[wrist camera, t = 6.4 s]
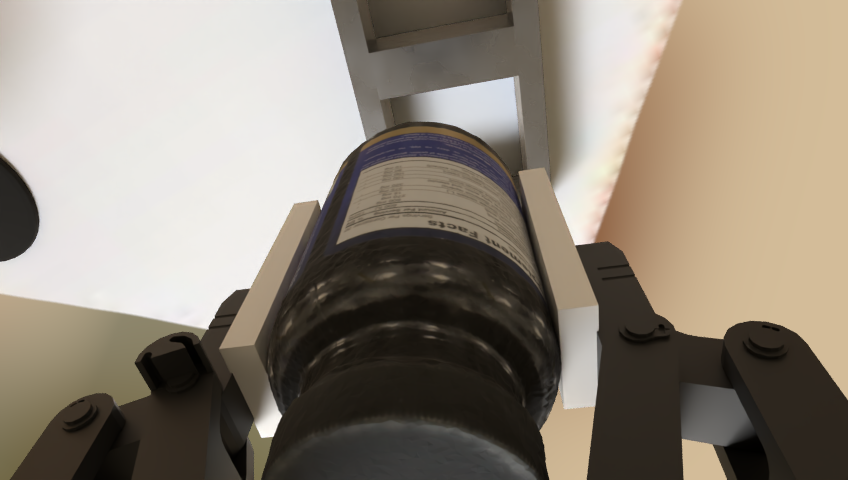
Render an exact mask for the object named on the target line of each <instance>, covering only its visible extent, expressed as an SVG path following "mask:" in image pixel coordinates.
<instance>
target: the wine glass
mask: <svg viewBox="0 0 848 480" xmlns="http://www.w3.org/2000/svg"><path fill="white" fill-rule="evenodd" d="M38 227H39V219H38V212H37V208H36V205H35V202H34V200H33V198H32V195H31V193H30V192H29V190H28V188H27V187H26V185H25V184H24V182H23V181H22V180H21V179H20V177H19V176H18V175H17V174H16V172H15V171H14V170H13V169H12V168H11V167H10V166H9V165H8V164H7V163H6V162H4V161H3V160H2V159H1V158H0V262H1V261H7V260H10V259H13V258H16V257H17V256H19V255H21V254H22V253H24V252H25V251H26V250H27V249H28V248H29V247H30V246H31V245H32V244H33V242H34V240H35V239H36V236H37V233H38Z"/></svg>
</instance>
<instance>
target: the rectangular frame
mask: <svg viewBox="0 0 848 480" xmlns="http://www.w3.org/2000/svg"><path fill="white" fill-rule="evenodd" d="M331 3H332V7H333V11H334V15H335V19H336V23H337V27H338V31H339V35H340V39H341V42H342V46H343V50H344V54H345V58H346V62H347V66H348V70H349V74H350V78H351V81H352V85H353V89H354V93H355V97H356V101H357V105H358V109H359V113H360V117H361V120H362V124H363V128H364V132H365V136H366V140H369V139H370V138H372V137H373V136H374V135H376V134H377V133H379V132H381V131H383V130H385V129H388V128H391V127H394V126H395V122H394V117H393V113H392V108H391V104H390V99H389V98H394V97H400V96H406V95H412V94H417V93H423V92H429V91H434V90H440V89H446V88H451V87H457V86H463V85H468V84H474V83H480V82H486V81H491V80H497V79H503V78H508V77H514V86H515V96H516V106H517V116H518V126H519V136H520V146H521V156H522V166H523V170H530V169H537V168H545V170H546V173H547V175H548V178H549V181H550V183H551V178H550V164H549V150H548V136H547V122H546V108H545V94H544V80H543V66H542V52H541V38H540V24H539V10H538V0H506V5H507V14H502V15H496V16H491V17H486V18H481V19H475V20H470V21H465V22H460V23H454V24H449V25H444V26H439V27H433V28H428V29H423V30H418V31H412V32H407V33H402V34H397V35H391V36H386V37H381V38H376V37H375V32H374V28H373V23H372V19H371V14H370V10H369V5H368V1H367V0H331ZM512 178H513V181H514V183H515V186H516V189H517V192H518V196H519V201H520V204H521V195H520V184H519V176H514V177H512ZM521 208H522V205H521Z"/></svg>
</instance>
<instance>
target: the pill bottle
mask: <svg viewBox="0 0 848 480" xmlns="http://www.w3.org/2000/svg"><path fill="white" fill-rule="evenodd" d="M267 354H268V363H267V368H268V380H269V383H270V387H271V391H272V393H273V397H274V399H275V402H276V404H277V407H278V410H279V412H280V413H281V415H282V417H281V419H280V422H279V423H278V426H277V429H276V431H275V434H274V437H273V439H272V443H271V447H270V452H269V456H268V459H267V462H266V465H265V468H264V471H263V475H262V478H261V480H549V477H548V472H547V468H546V463H545V460H546V458H545V452H544V444H543V440H542V436H541V434H540V432H539V431H540V429H541V428H542V426H543V424H544V423H545V421H546V420H547V418H548V416H549V414H550V412H551V410H552V406H553V404H554V402H555V398H556V396H557V392H558V385H559V382H560V375H561V364H562V363H561V360H560V355H561V353H560V349H559V346H558V340H557V337H556V333H555V329H554V326H553V322H552V319H551V315H550V311H549V307H548V304H547V301H546V297H545V293H544V289H543V285H542V280H541V277H540V274H539V271H538V267H537V263H536V259H535V255H534V252H533V248H532V244H531V241H530V237H529V234H528V230H527V226H526V222H525V219H524V215H523V212H522V208H521V204H520V201H519V196H518V192H517V189H516V186H515V183H514V181H513V178H512V176H511V173H510V172H509V170H508V168H507V166H506V165H505V163H504V162H503V161H502V160H501V159H500V157H499V156H498V155H497V154H496V152H495V151H494V150H493V149H492V148H490V147H489V146H488V145H487V144H486V143H485V142H484V141H482V140H481V139H480V138H478V137H477V136H474V135H472V134H470V133H469V132H467V131H465V130H462V129H460V128H458V127H456V126H452V125H447V124H442V123H436V122H407V123H403V124H400V125H397V126H394V127H391V128H388V129H385V130H383V131H381V132H379V133H377V134H376V135H374V136H373V137H372V138H370V139H369V140H367V141H365V142H364V143H362V144H361V145H360V146H359V147H358V148H357V149H355V150H354V151H353V152H352V153H351V154H350V155H349V156H348V157H347V158H346V160H345V161H344V162H343V164H342V166H341V167H340V170H339V172H338V174H337V175H336V177H335V179H334V182H333V185H332V187H331V189H330V192H329V194H328V196H327V198H326V201H325V203H324V205H323V208H322V210H321V213H320V215H319V217H318V220H317V222H316V224H315V227H314V229H313V232H312V234H311V236H310V239H309V241H308V244H307V246H306V249H305V251H304V253H303V256H302V258H301V261H300V263H299V266H298V268H297V270H296V273H295V275H294V277H293V280H292V282H291V284H290V286H289V289H288V291H287V294H286V296H285V298H284V300H283V301H282V305H281V307H280V309H279V312H278V313H277V318H276V320H275V323H274V325H273V328H272V331H271V336H270V340H269V345H268V352H267Z"/></svg>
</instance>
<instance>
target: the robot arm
mask: <svg viewBox="0 0 848 480" xmlns="http://www.w3.org/2000/svg"><path fill="white" fill-rule="evenodd" d="M518 173H519V184H520V195H521V205H522V212H523V215H524V219H525V222H526V226H527V230H528V234H529V237H530V241H531V244H532V248H533V252H534V255H535V259H536V263H537V267H538V271H539V274H540V277H541V280H542V285H543V289H544V293H545V297H546V301H547V304H548V307H549V311H550V315H551V319H552V322H553V326H554V329H555V333H556V337H557V340H558V346H559V349H560V353H561V355H560V360H561V363H562V364H561V375H560V382H559V385H558V386H559V390H560V394H561V397H562V402H563V406H564V409H572V408H582V407H592V406H595V412H594V421H593V430H592V439H591V447H590V456H589V466H588V474H587V480H683V459H682V439H687V440H692V441H698V442H704V443H709V444H713V446H714V448H715V451H716V453H717V456H718V458H719V461H720V463H721V466H722V468H723V470H724V472H725V475H726V477H727V480H848V400H847V398H846V397H845V396H844V394H843V393H842V392H841V390H840V389H839V387H838V386H837V385H836V383H835V382H834V381H833V379H832V378H831V376H830V375H829V373H828V372H827V371H826V369H825V368H824V367H823V365H822V364H821V363H820V361H819V360H818V358H817V357H816V356H815V354H814V353H813V352H812V350H811V349H810V347H809V346H808V344H807V343H806V342H805V341H804V340H803V339H802V338H801V337H800V336H799V335H798V334H797V333H795V332H793V331H791V330H789V329H787V328H785V327H783V326H780V325H777V324H773V323H769V322H761V321H748V322H743V323H738V324H736V325H734V326H732V327H731V328H729V329H728V330H727V332H726V334H725V336H724V339H714V338H706V337H697V336H692V335H687V334H684V333H681V332H678V331H676V330H675V328H674V326H673V325H672V324H671V323H670V322H669V321H668V320H667V319H665V318H664V317H662V316H660V315H657V314H655V312H654V310H653V308H652V307H651V305H650V303H649V301H648V299H647V297H646V295H645V293H644V291H643V290H642V288H641V286H640V284H639V282H638V280H637V278H636V277H635V274H634V272H633V270H632V269H631V267H630V266H629V263H628V261H627V259H626V257H625V255H624V253H623V252H622V251H621V250H619V249H618V248H617V247H615V246H614V245H612V244H611V243H610V242H600V243H592V244H584V245H576V246H575V244H574V242H573V239H572V237H571V234H570V231H569V229H568V226H567V224H566V221H565V219H564V216H563V214H562V211H561V209H560V206H559V203H558V201H557V198H556V196H555V193H554V191H553V188H552V186H551V183H550V181H549V178H548V175H547V173H546V170H545V168H537V169H530V170H523V171H518ZM320 213H321V209H320V205H319V202H318V200H316V201H309V202H303V203H296V204H294V205H293V207H292V209H291V211H290V213H289V215H288V217H287V219H286V221H285V223H284V225H283V226H282V228H281V230H280V232H279V234H278V236H277V238H276V240H275V242H274V244H273V246H272V248H271V250H270V252H269V254H268V255H267V257H266V259H265V261H264V263H263V265H262V267H261V269H260V271H259V273H258V275H257V277H256V279H255V281H254V282H253V284H252V286H251V288H250V289H243V290H236V291H235V292H234V293H233V294H232V295H230V296H229V297H228V298H227V299H226V300H225V301H224V302H223V303H222V304H221V306H220V308H219V309H218V311H217V313H216V315H215V319H213V320H212V322H211V323H210V325H209V330H206V332H205V334H204V336H203V337H202V339H201V341H200V340H199V338H198V336H196V335H194V334H193V333H189V332H179V333H174V334H171V335H168V336H165V337H163V338H160V339H159V340H157V341H155V342H154V343H152V344H150V345H149V346H148V347H147V348H146V349H144V350H143V351H142V353H140V354H139V356H138V358H137V359H136V361H135V365H136V366H137V368H138V370H139V371H140V373H141V375H142V376H143V378H144V380H145V381H146V383H147V385H148V387H149V388H150V390H151V395H150V396H147V397H145V398H142V399H139V400H136V401H133V402H130V403H127V404H124V405H121V406H118V405H117V404H116V402H115V401H114V399H113V398H112V397H111V396H110V395H108V394H106V393H105V394H104V393H102V394H101V393H99V394H97V393H96V394H93V395H89V396H85V397H83V398H80V399H78V400H77V401H74V402H72V403H71V404H69V406H67V407H65V408H64V409H63V410H61V411H60V412H59V413H58V414H57V415H56V416H55V417H54V419H53V420H52V421H51V422H50V423H49V425H48V426H47V428H46V429H45V430H44V432H43V433H42V435H41V436H40V438H39V439H38V440H37V442H36V443H35V445H34V446H33V447H32V449H31V450H30V452H29V453H28V455H27V456H26V457H25V459H24V460H23V462H22V463H21V465H20V466H19V467H18V469H17V470H16V472H15V473H14V475H13V476H12V478H11V479H10V480H254V451H253V448H252V444H251V442H250V440H249V438H248V434H249V431H250V429H251V426H252V423H253V421H254V423H255V425H256V427H257V429H258V431H259V433H260V436H261V437H262V438H264V437H274V434H275V431H276V429H277V426H278V423H279V422H280V419H281V417H282V415H281V413H280V412H279V410H278V407H277V404H276V402H275V399H274V397H273V393H272V391H271V387H270V383H269V380H268V368H267V363H268V354H267V352H268V345H269V340H270V336H271V331H272V328H273V325H274V323H275V320H276V318H277V313H278V312H279V309H280V307H281V305H282V301H283V300H284V298H285V296H286V294H287V291H288V289H289V286H290V284H291V282H292V280H293V277H294V275H295V273H296V270H297V268H298V266H299V263H300V261H301V258H302V256H303V253H304V251H305V249H306V246H307V244H308V241H309V239H310V236H311V234H312V232H313V229H314V227H315V224H316V222H317V220H318V217H319V215H320Z"/></svg>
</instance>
